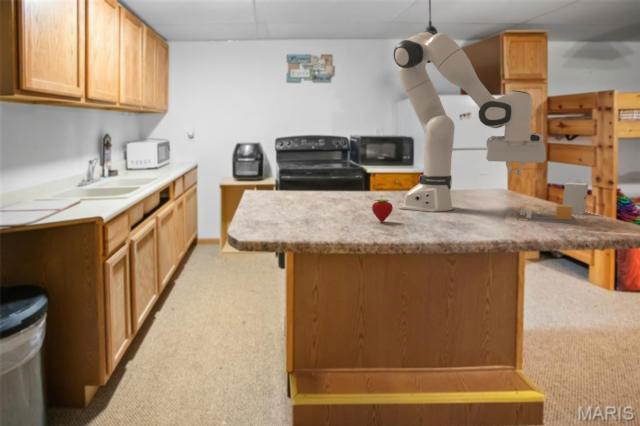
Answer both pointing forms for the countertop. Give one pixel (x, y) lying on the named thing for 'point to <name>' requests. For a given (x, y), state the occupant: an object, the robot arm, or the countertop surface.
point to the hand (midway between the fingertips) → (514, 174)
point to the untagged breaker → (522, 210)
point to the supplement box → (576, 197)
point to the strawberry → (382, 209)
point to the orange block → (563, 212)
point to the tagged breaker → (529, 213)
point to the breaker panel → (545, 218)
